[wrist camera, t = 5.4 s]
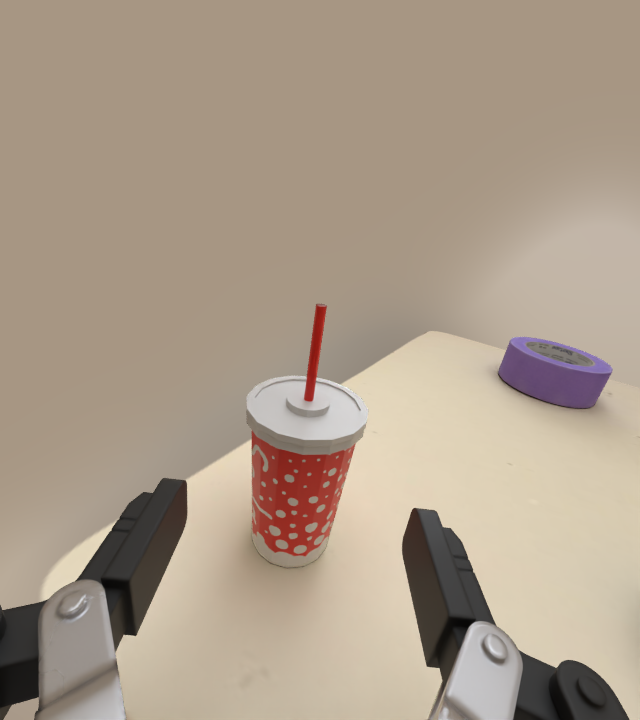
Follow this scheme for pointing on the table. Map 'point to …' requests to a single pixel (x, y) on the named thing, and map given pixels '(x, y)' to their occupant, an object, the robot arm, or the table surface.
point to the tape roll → (554, 372)
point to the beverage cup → (300, 458)
